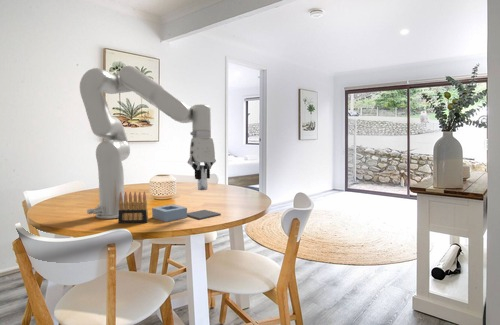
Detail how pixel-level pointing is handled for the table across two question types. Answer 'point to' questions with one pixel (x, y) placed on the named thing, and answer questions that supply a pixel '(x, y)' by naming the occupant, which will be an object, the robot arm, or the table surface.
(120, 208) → the ammunition clip
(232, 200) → the table surface
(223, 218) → the table surface
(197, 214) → the rubber mat
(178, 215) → the block
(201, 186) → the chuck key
